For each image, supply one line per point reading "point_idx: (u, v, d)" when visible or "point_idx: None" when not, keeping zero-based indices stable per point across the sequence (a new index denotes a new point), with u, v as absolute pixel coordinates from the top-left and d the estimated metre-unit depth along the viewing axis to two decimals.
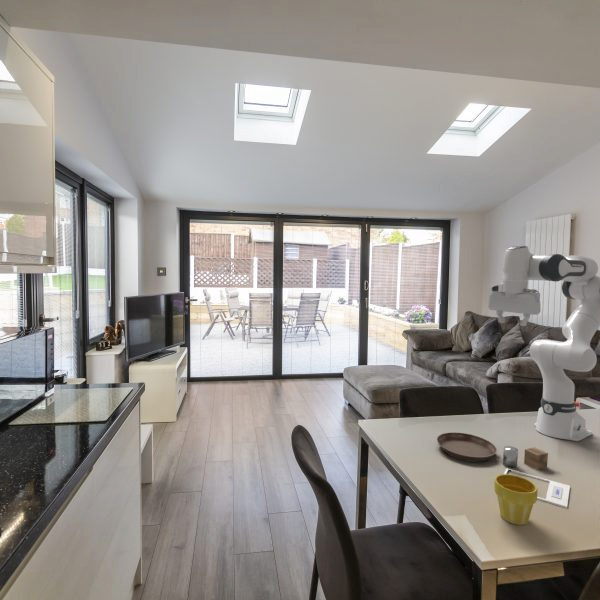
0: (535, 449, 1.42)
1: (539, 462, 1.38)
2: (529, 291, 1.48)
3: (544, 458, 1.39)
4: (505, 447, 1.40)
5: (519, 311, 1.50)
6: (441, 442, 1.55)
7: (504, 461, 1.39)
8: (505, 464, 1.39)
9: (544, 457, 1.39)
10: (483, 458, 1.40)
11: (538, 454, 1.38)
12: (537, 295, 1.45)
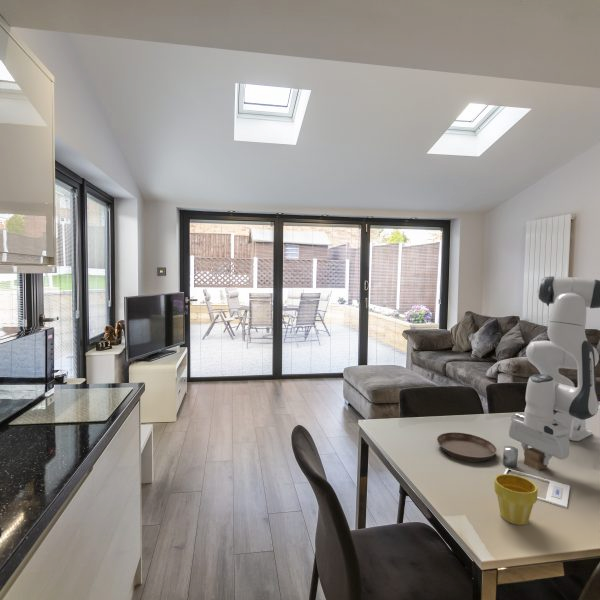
0: (535, 449, 1.42)
1: (539, 461, 1.38)
2: None
3: None
4: (505, 447, 1.40)
5: None
6: (441, 442, 1.55)
7: (504, 461, 1.39)
8: (505, 464, 1.39)
9: (544, 456, 1.38)
10: (483, 458, 1.40)
11: (538, 454, 1.38)
12: None
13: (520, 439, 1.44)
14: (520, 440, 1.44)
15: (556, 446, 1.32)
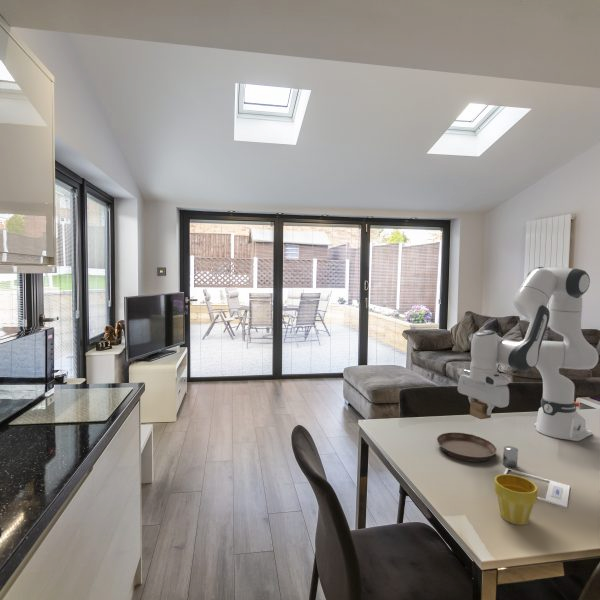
0: (480, 401, 1.49)
1: (482, 412, 1.44)
2: None
3: None
4: (505, 447, 1.40)
5: None
6: (441, 442, 1.55)
7: (504, 461, 1.39)
8: (505, 464, 1.39)
9: None
10: (483, 458, 1.40)
11: (482, 405, 1.45)
12: None
13: (467, 393, 1.51)
14: (467, 394, 1.51)
15: (496, 395, 1.39)
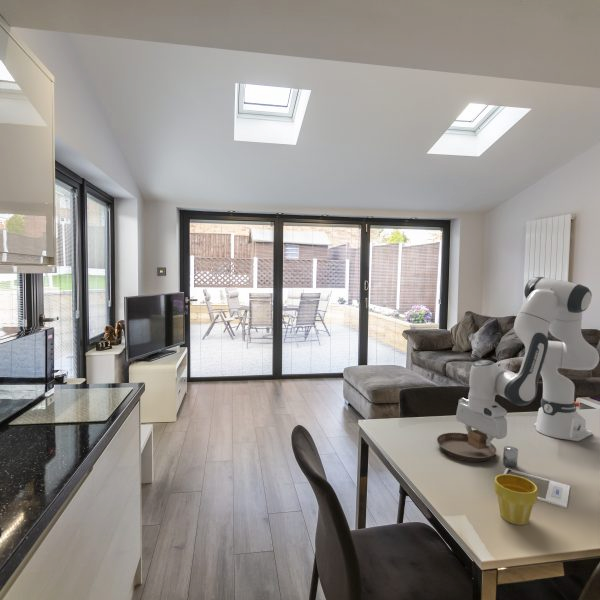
0: (478, 431, 1.50)
1: (480, 442, 1.45)
2: None
3: (486, 439, 1.46)
4: (505, 447, 1.40)
5: None
6: (441, 442, 1.55)
7: (504, 461, 1.39)
8: (505, 464, 1.39)
9: (486, 437, 1.46)
10: (483, 458, 1.40)
11: (480, 435, 1.46)
12: None
13: (465, 421, 1.52)
14: (465, 422, 1.52)
15: (494, 426, 1.40)
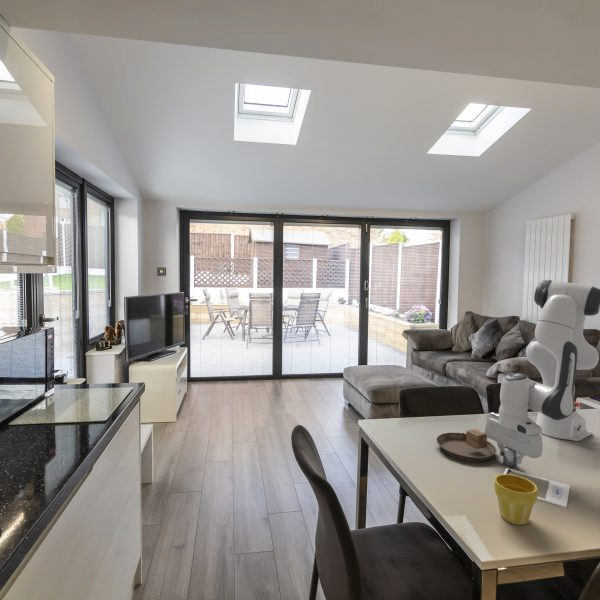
0: (476, 430, 1.50)
1: (478, 442, 1.46)
2: None
3: (483, 438, 1.47)
4: (505, 447, 1.40)
5: None
6: (441, 442, 1.55)
7: (504, 461, 1.39)
8: (505, 464, 1.39)
9: (483, 437, 1.47)
10: (483, 458, 1.41)
11: (478, 434, 1.46)
12: None
13: (495, 438, 1.43)
14: (495, 439, 1.43)
15: (529, 445, 1.31)
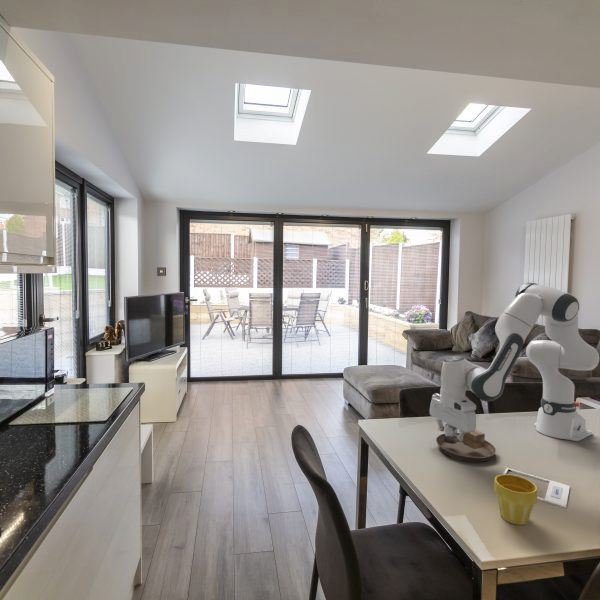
0: None
1: (476, 442, 1.46)
2: None
3: (481, 438, 1.47)
4: (446, 424, 1.52)
5: None
6: (440, 442, 1.55)
7: (445, 437, 1.52)
8: (446, 440, 1.51)
9: (481, 437, 1.47)
10: (482, 458, 1.41)
11: (475, 434, 1.46)
12: None
13: (437, 416, 1.55)
14: (437, 417, 1.55)
15: (464, 420, 1.43)
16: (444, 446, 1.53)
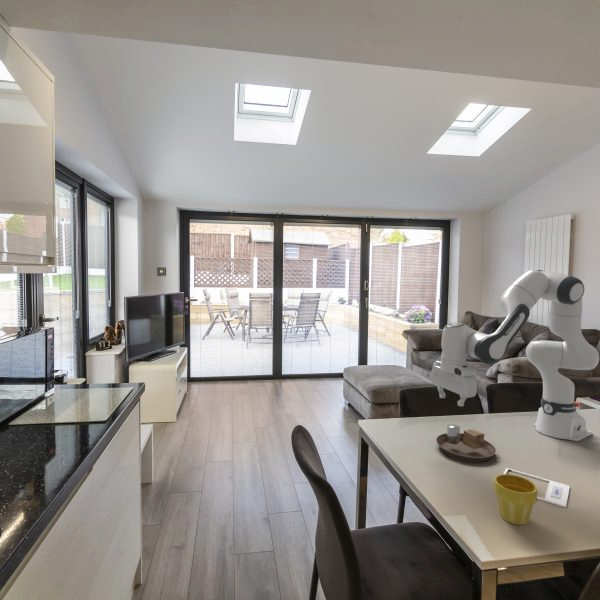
0: (473, 430, 1.50)
1: (475, 442, 1.46)
2: None
3: (480, 438, 1.47)
4: (449, 425, 1.52)
5: None
6: (440, 442, 1.55)
7: (447, 438, 1.51)
8: (448, 440, 1.51)
9: (481, 437, 1.47)
10: (482, 458, 1.41)
11: (475, 435, 1.46)
12: None
13: (438, 383, 1.55)
14: (438, 384, 1.55)
15: (464, 385, 1.43)
16: (444, 446, 1.53)
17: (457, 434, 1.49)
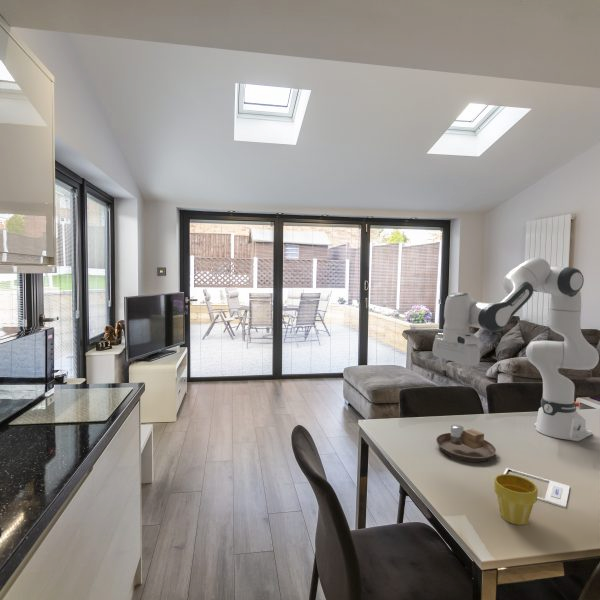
0: (473, 430, 1.50)
1: (475, 442, 1.46)
2: None
3: (480, 438, 1.47)
4: (452, 425, 1.52)
5: None
6: (440, 442, 1.55)
7: (451, 438, 1.51)
8: (451, 441, 1.50)
9: (480, 437, 1.47)
10: (482, 459, 1.41)
11: (474, 434, 1.46)
12: None
13: (440, 355, 1.54)
14: (441, 356, 1.54)
15: (467, 354, 1.42)
16: (444, 446, 1.53)
17: (461, 435, 1.49)
